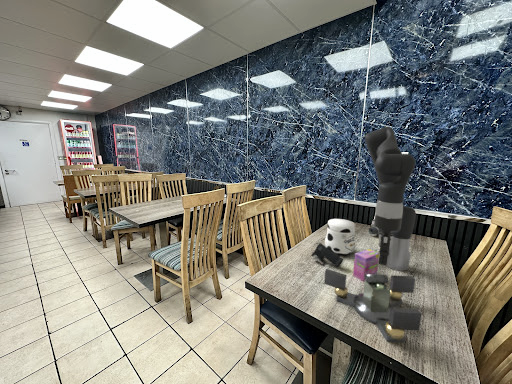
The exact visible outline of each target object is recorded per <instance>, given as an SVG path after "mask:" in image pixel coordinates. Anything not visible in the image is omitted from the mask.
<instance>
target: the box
mask: <svg viewBox="0 0 512 384" xmlns="http://www.w3.org/2000/svg"><path fill="white" fill-rule="evenodd" d="M379 256H380V254H379V252H376V251H374V250H372V249H370V248H367V249H364V250H361V251H358V252H356V253H354V260H353V271H352V276H354V277H355V278H356V279H358V280H360V281H362V282H365V277H364V276H365V274H377V273H378V264H379Z"/></svg>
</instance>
